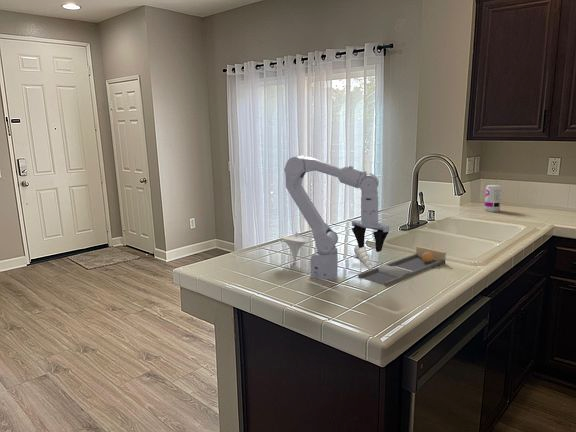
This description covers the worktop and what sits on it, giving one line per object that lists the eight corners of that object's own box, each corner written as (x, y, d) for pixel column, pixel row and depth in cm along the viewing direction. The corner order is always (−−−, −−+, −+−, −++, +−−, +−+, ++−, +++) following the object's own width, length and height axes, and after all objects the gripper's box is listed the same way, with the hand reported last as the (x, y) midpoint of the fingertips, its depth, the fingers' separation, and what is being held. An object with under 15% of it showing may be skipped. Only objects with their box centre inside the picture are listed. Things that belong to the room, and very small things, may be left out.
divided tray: (386, 297, 144) (386, 274, 143) (358, 288, 153) (358, 266, 152) (444, 272, 167) (445, 252, 165) (417, 265, 176) (418, 246, 174)
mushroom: (295, 256, 180) (294, 227, 178) (313, 261, 172) (313, 232, 170) (275, 261, 174) (274, 232, 171) (294, 267, 166) (293, 237, 163)
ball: (435, 254, 163) (434, 257, 167) (426, 248, 165) (425, 252, 168) (429, 262, 163) (428, 266, 166) (420, 257, 164) (419, 260, 168)
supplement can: (485, 211, 256) (486, 186, 253) (483, 209, 264) (485, 184, 261) (500, 212, 254) (502, 186, 251) (498, 209, 262) (500, 184, 259)
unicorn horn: (362, 274, 158) (362, 261, 157) (353, 255, 181) (353, 243, 180) (375, 273, 158) (375, 261, 157) (365, 254, 181) (365, 243, 180)
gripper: (394, 210, 145) (394, 250, 148) (360, 206, 156) (361, 243, 159) (381, 214, 141) (381, 255, 143) (347, 209, 152) (348, 247, 154)
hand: (369, 249), depth 151 cm, fingers open, 7 cm apart
